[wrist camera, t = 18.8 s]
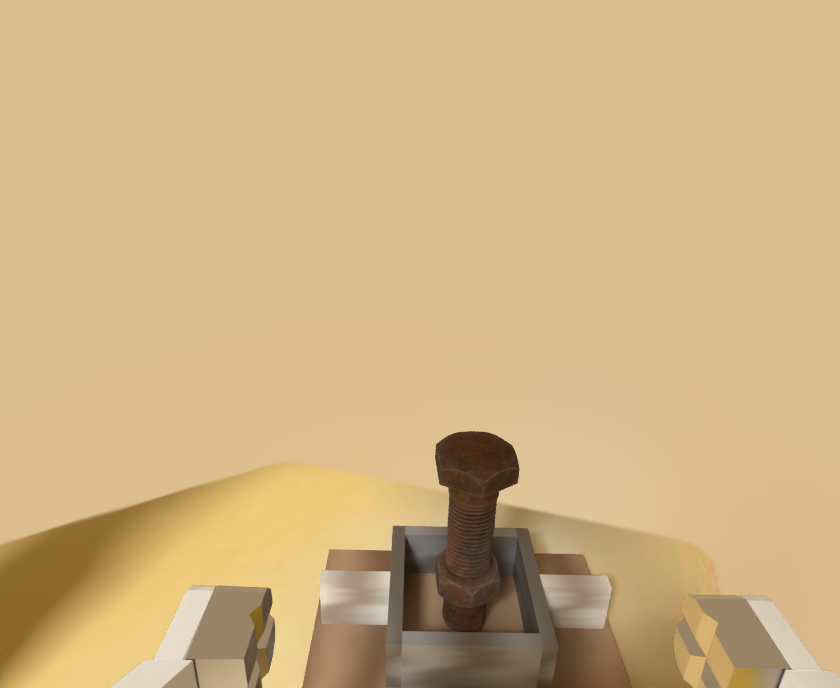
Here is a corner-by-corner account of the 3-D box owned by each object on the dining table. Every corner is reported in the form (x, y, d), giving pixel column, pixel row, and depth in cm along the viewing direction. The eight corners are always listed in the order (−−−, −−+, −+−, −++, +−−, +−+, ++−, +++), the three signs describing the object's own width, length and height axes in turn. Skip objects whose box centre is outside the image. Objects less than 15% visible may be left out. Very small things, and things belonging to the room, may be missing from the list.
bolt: (452, 664, 39) (465, 485, 34) (412, 613, 43) (418, 445, 37) (514, 626, 42) (536, 456, 37) (472, 582, 46) (486, 421, 40)
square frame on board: (299, 723, 37) (294, 664, 35) (330, 562, 50) (327, 512, 48) (637, 728, 37) (653, 670, 35) (580, 567, 50) (589, 517, 48)
